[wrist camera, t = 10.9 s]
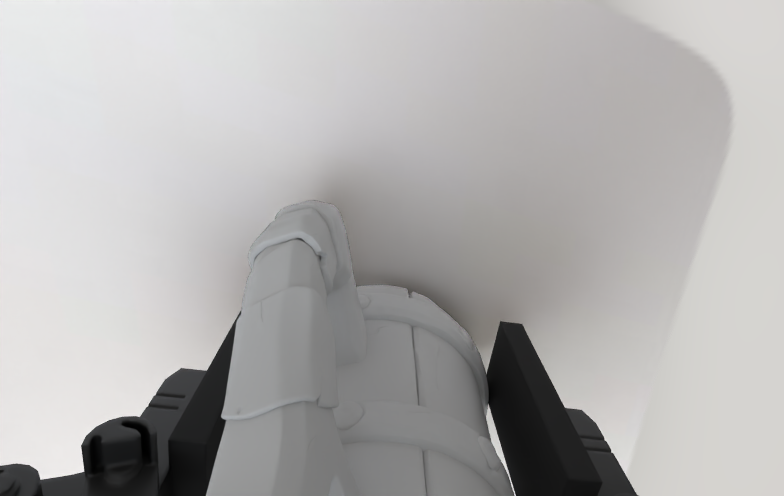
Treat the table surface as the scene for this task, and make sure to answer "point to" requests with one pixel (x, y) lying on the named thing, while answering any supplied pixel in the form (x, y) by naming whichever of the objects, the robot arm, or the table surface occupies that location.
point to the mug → (347, 380)
